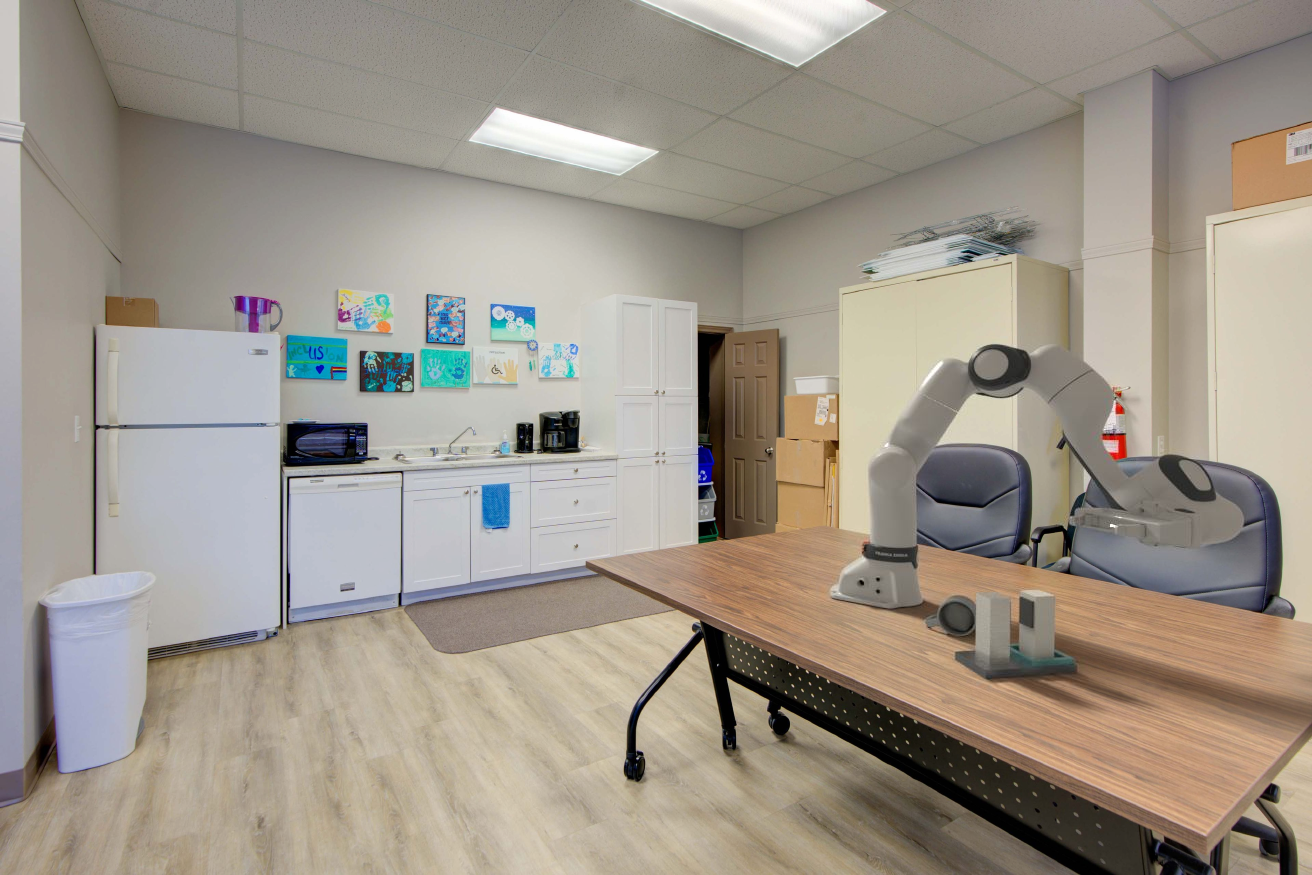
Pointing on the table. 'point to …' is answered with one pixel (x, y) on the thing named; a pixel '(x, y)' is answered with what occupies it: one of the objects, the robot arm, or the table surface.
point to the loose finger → (1036, 624)
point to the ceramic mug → (955, 616)
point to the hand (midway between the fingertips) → (1091, 525)
